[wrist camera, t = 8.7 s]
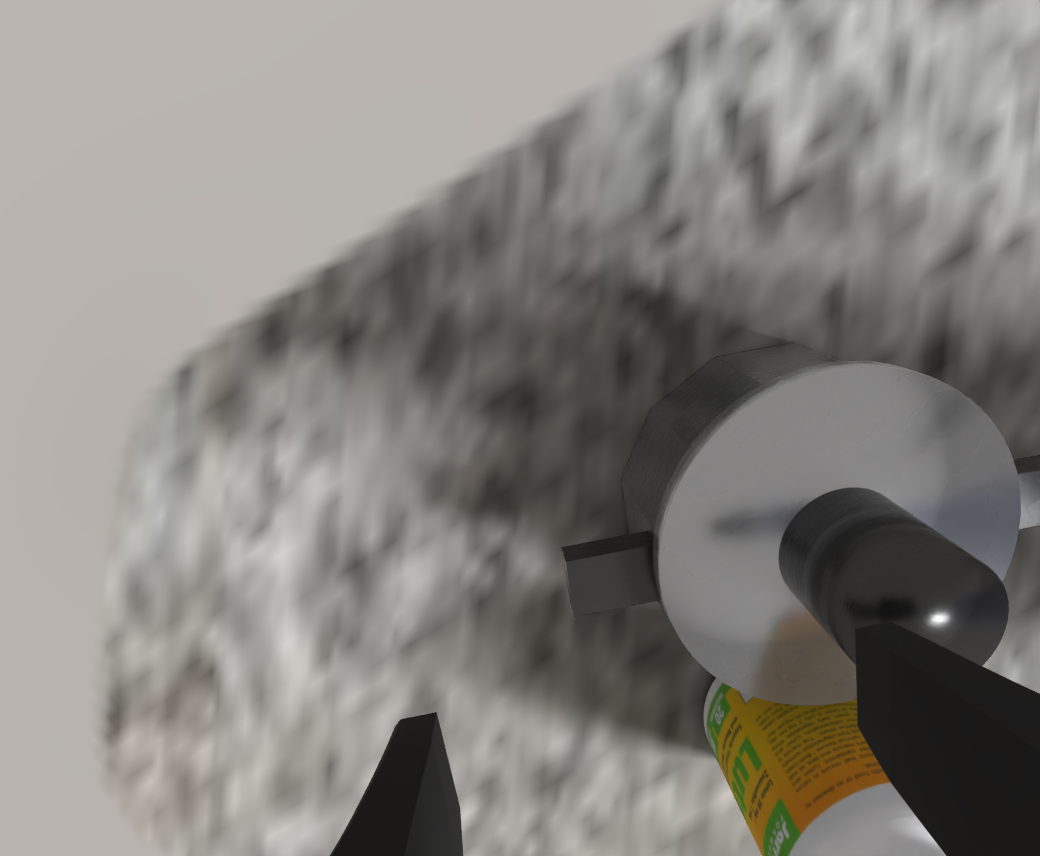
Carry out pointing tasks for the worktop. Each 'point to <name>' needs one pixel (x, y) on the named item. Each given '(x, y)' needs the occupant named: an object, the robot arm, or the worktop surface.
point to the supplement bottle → (809, 779)
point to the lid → (836, 528)
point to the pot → (661, 445)
